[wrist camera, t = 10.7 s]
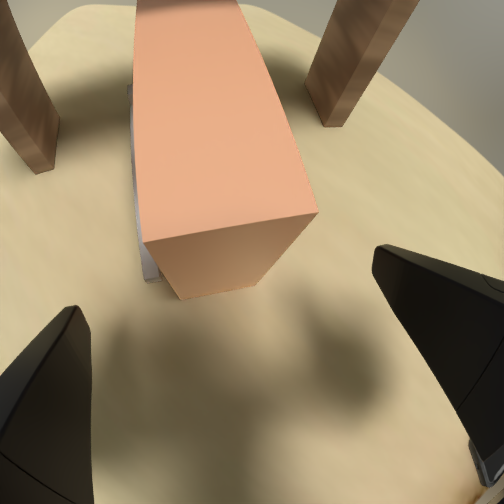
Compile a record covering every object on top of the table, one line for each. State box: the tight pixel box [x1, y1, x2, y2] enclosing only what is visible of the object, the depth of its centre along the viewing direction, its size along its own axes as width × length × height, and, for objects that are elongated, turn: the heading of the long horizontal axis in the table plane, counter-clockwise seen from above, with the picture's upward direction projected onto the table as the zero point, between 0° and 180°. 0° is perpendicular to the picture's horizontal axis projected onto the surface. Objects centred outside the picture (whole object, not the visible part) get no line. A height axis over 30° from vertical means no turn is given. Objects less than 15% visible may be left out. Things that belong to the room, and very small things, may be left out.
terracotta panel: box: [133, 0, 319, 300], centre depth 13 cm, size 12×4×10 cm, turn 13°
